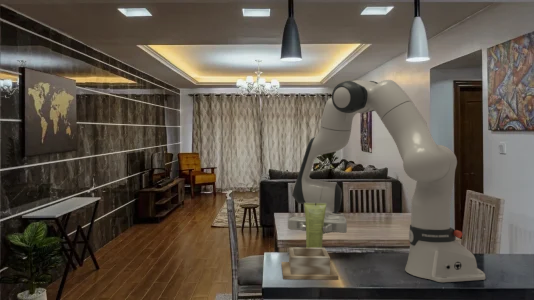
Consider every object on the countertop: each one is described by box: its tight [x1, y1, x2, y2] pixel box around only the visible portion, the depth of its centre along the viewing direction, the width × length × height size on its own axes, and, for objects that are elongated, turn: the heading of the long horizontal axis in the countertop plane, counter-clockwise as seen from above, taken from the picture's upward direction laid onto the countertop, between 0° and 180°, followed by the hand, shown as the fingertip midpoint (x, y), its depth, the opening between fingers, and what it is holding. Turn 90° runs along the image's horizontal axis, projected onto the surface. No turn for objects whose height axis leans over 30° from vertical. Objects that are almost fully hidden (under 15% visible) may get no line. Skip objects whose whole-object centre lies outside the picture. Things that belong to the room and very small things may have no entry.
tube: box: [303, 203, 326, 248], centre depth 142 cm, size 6×5×20 cm
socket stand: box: [281, 246, 339, 281], centre depth 131 cm, size 16×14×6 cm
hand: (314, 229), depth 141 cm, fingers closed on tube, 6 cm apart
